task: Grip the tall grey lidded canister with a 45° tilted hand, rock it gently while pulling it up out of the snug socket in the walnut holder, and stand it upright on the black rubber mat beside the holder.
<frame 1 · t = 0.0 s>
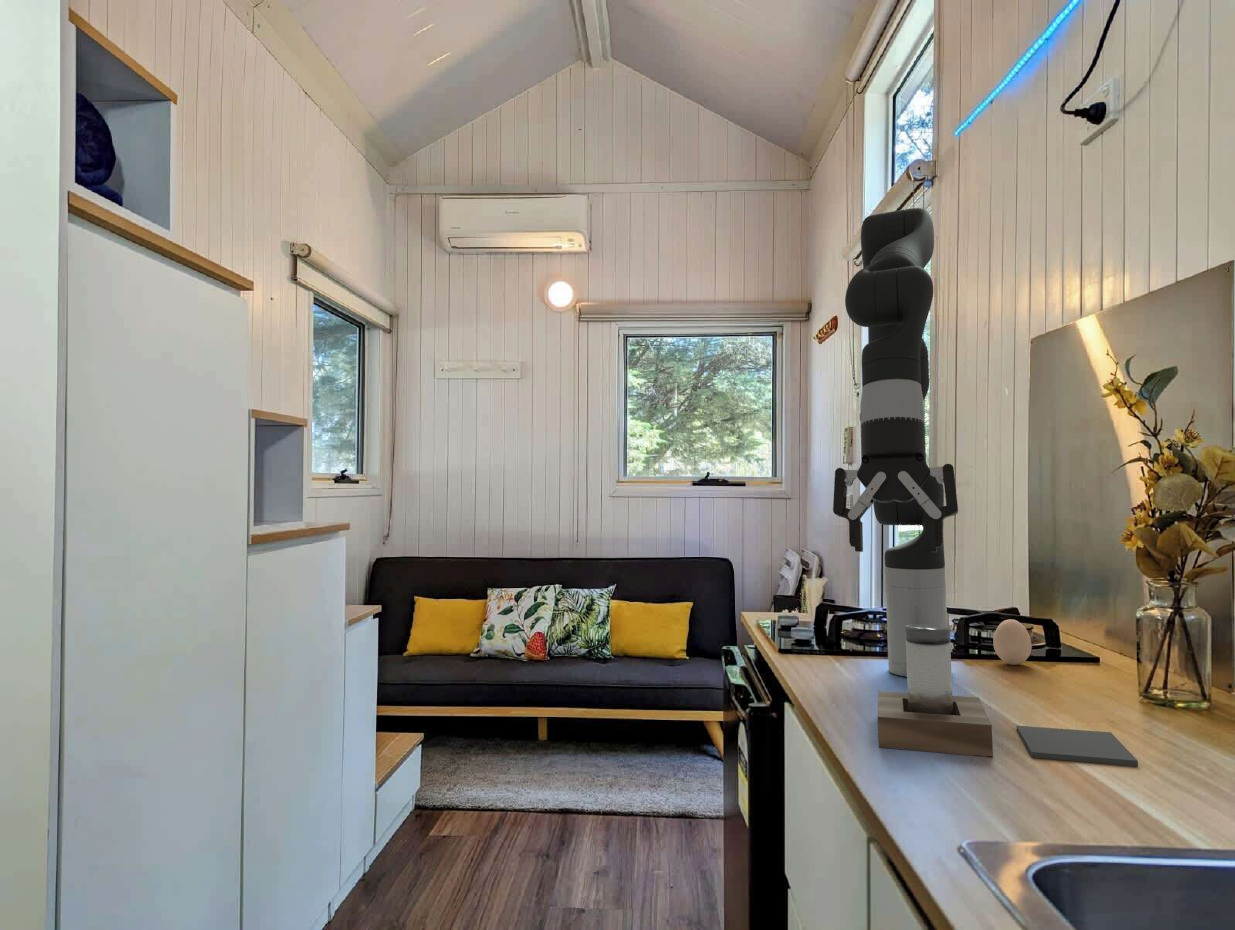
hand: (895, 551, 91), 22 cm above the countertop, tool pointing down, fingers open, 8 cm apart
walnut holder: (931, 735, 91), on the countertop
grey lidded canister: (931, 736, 91), resting in walnut holder
egg: (1013, 665, 127), on the countertop
rubber mat: (1072, 747, 86), on the countertop
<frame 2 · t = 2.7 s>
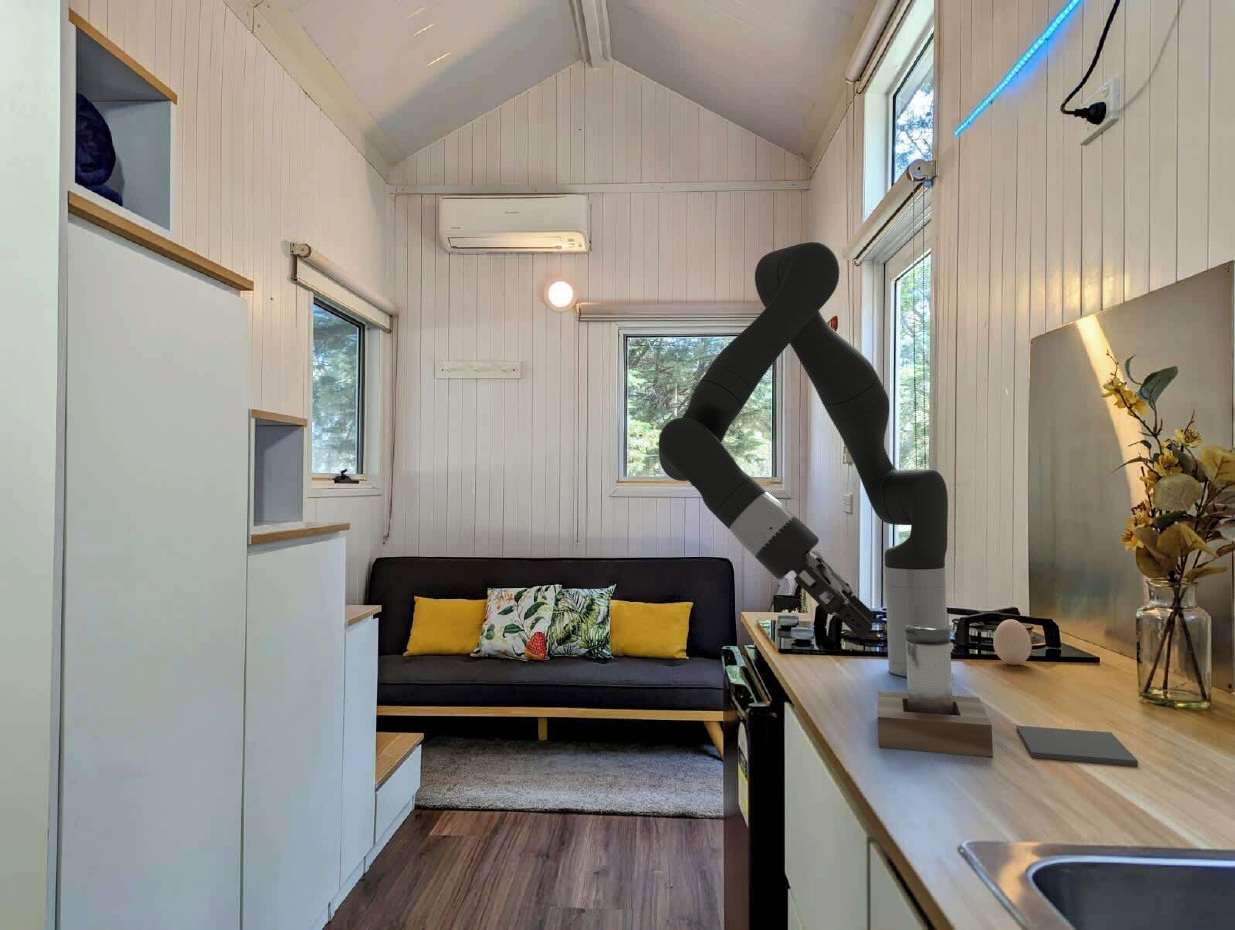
hand: (868, 626, 94), 13 cm above the countertop, tool tilted 45°, fingers open, 8 cm apart
nothing on the countertop moved.
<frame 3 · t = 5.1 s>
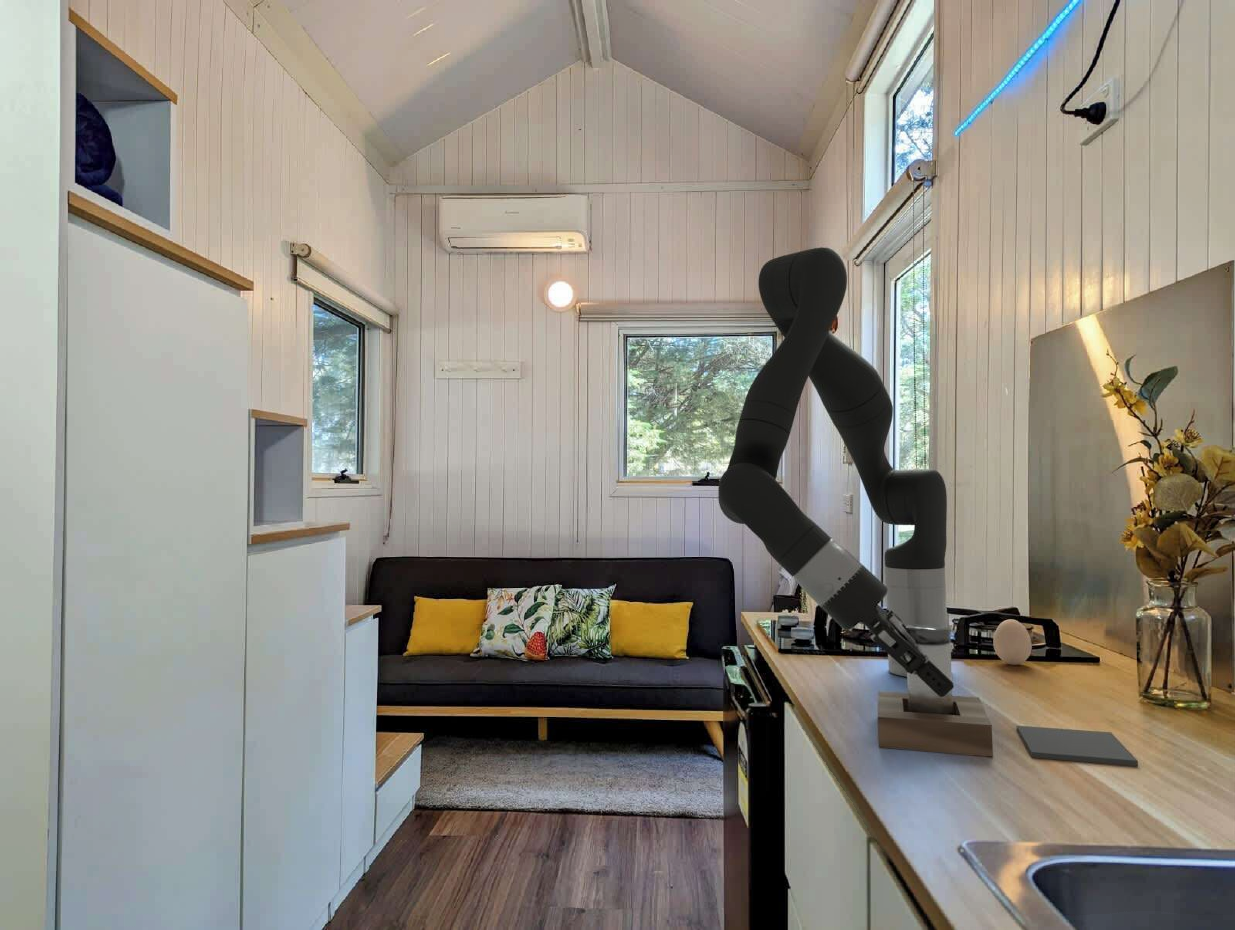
hand: (945, 685, 91), 6 cm above the countertop, tool tilted 45°, fingers closed on grey lidded canister, 5 cm apart
grey lidded canister: (931, 735, 91), resting in walnut holder, touching gripper
everything else where it was.
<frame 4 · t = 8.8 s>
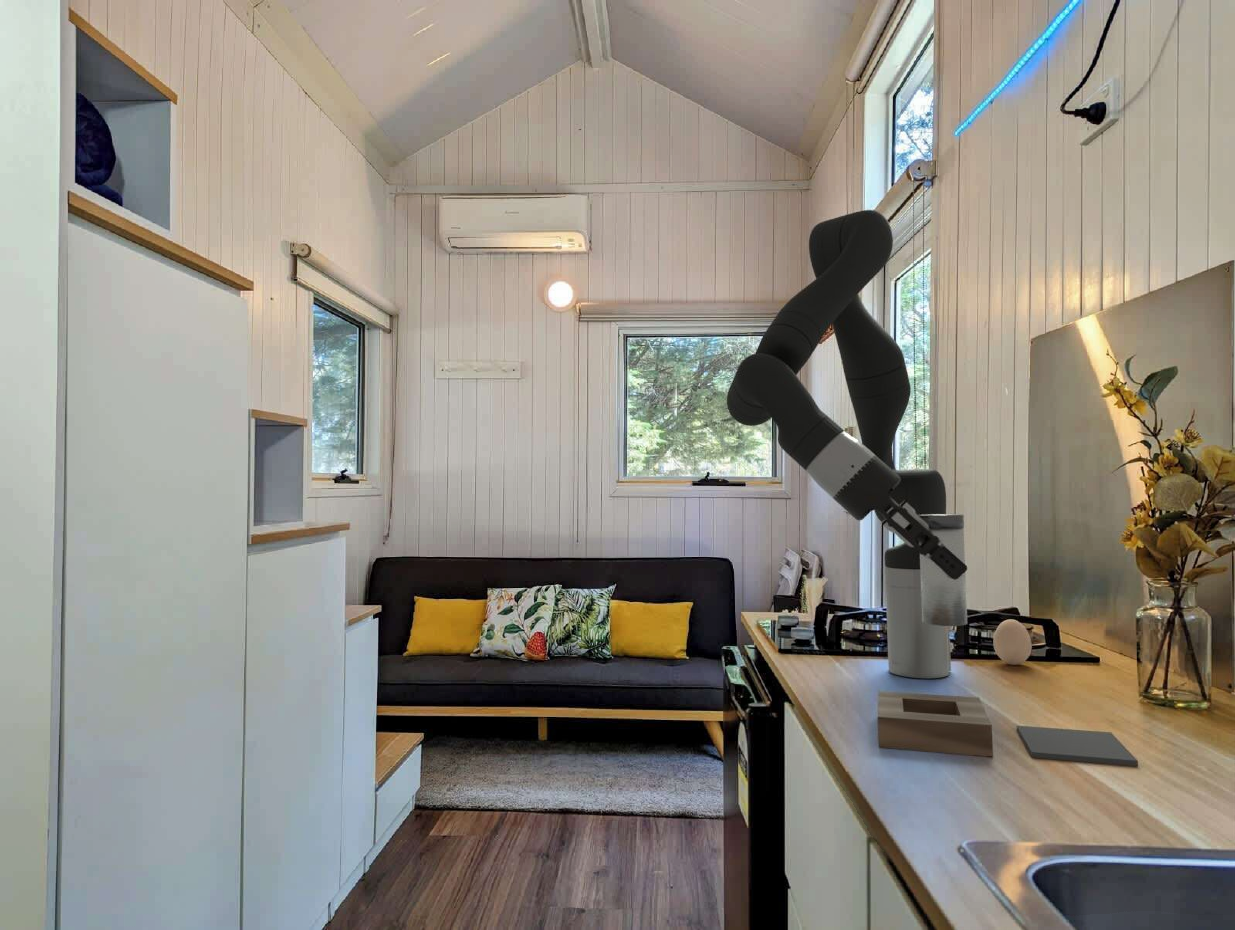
hand: (959, 571, 91), 20 cm above the countertop, tool tilted 45°, fingers closed on grey lidded canister, 5 cm apart
grey lidded canister: (944, 622, 91), point 14 cm above the countertop, touching gripper
everything else where it was.
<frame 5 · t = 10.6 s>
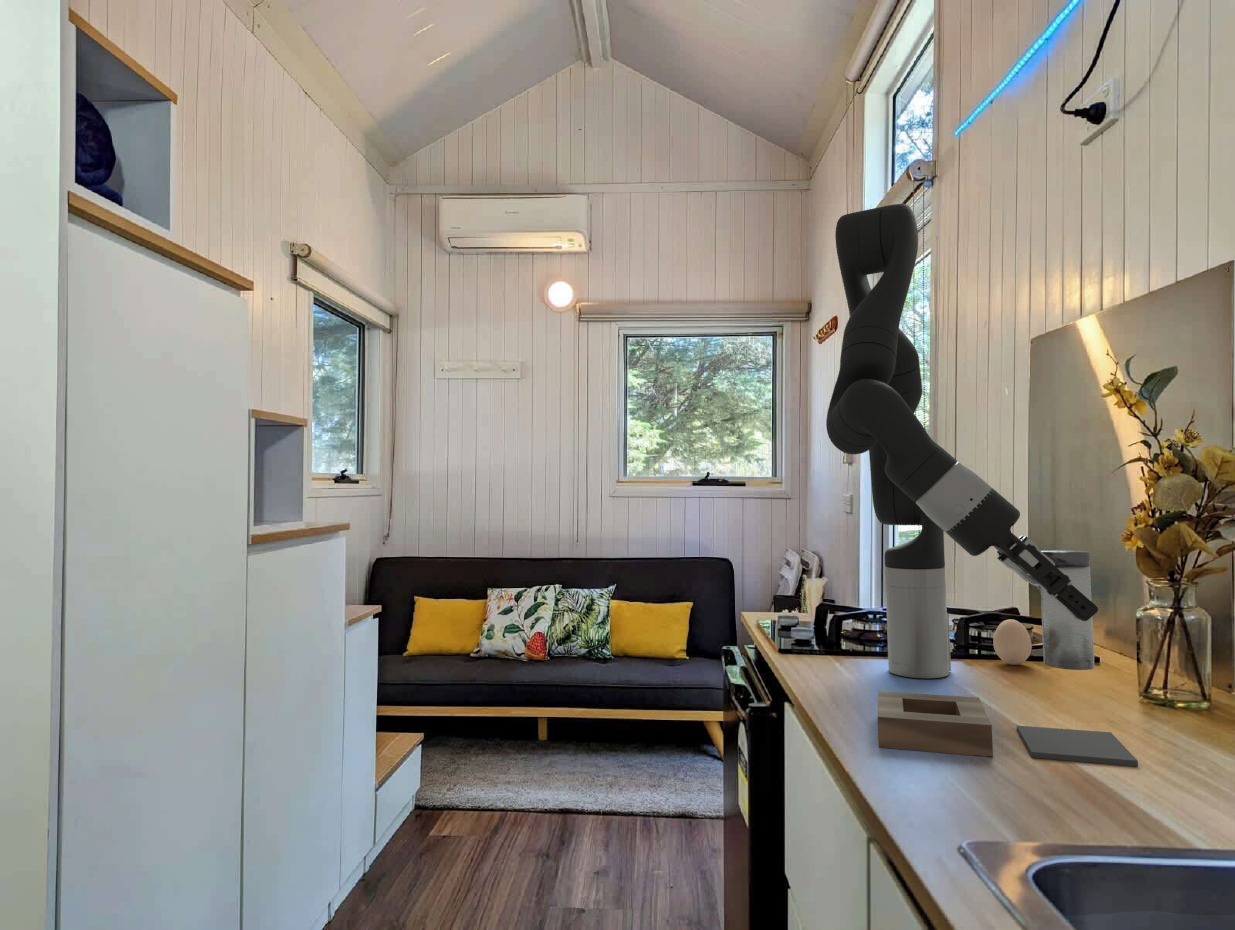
hand: (1084, 611, 86), 15 cm above the countertop, tool tilted 45°, fingers closed on grey lidded canister, 5 cm apart
grey lidded canister: (1068, 665, 86), point 9 cm above the countertop, touching gripper
everything else where it was.
when the fingers open (8 cm above the countertop, at t = 12.3 s): grey lidded canister drops 1 cm, resting on rubber mat.
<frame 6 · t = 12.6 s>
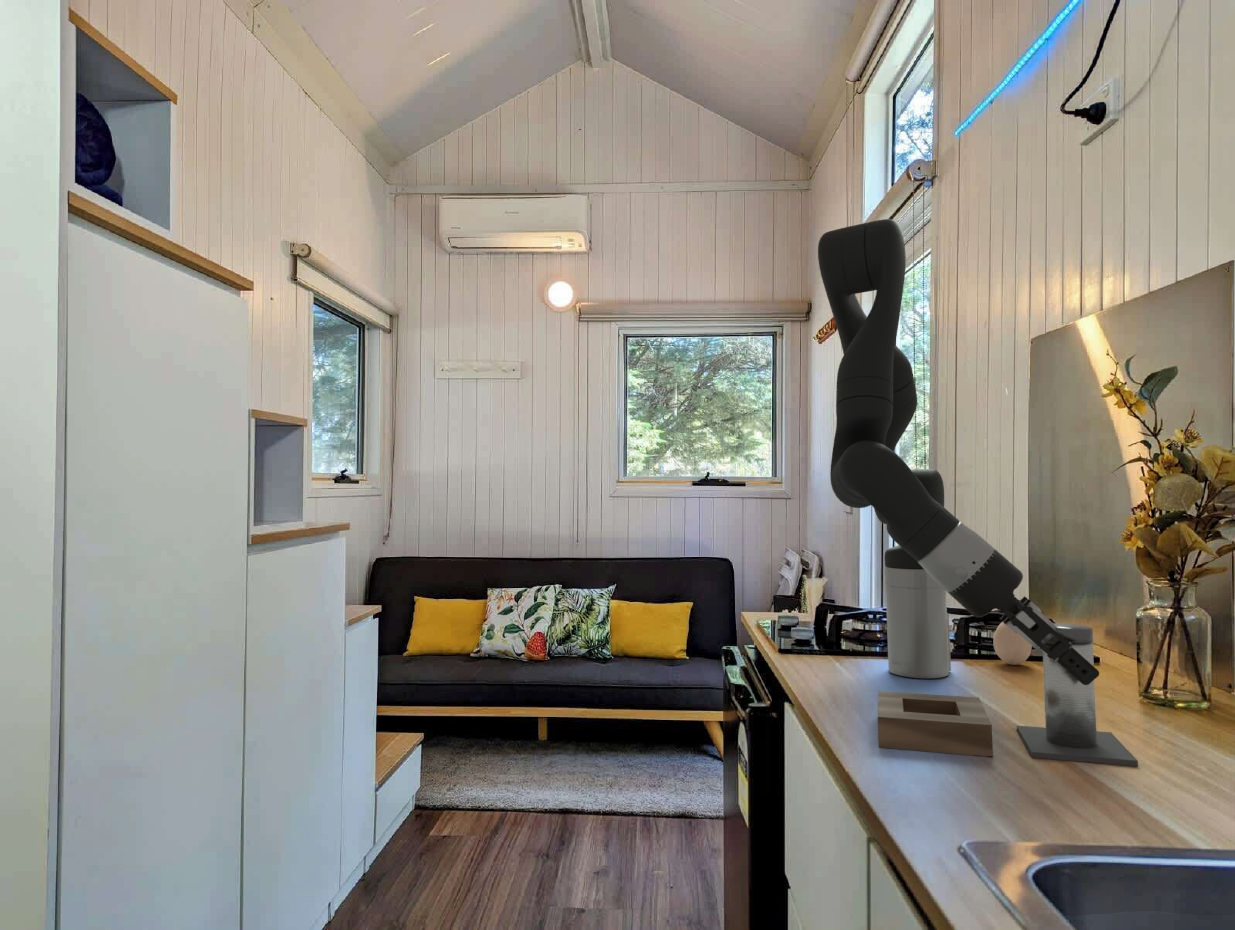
hand: (1083, 671, 86), 9 cm above the countertop, tool tilted 45°, fingers open, 8 cm apart
grey lidded canister: (1071, 741, 86), point 1 cm above the countertop, touching rubber mat
everything else where it was.
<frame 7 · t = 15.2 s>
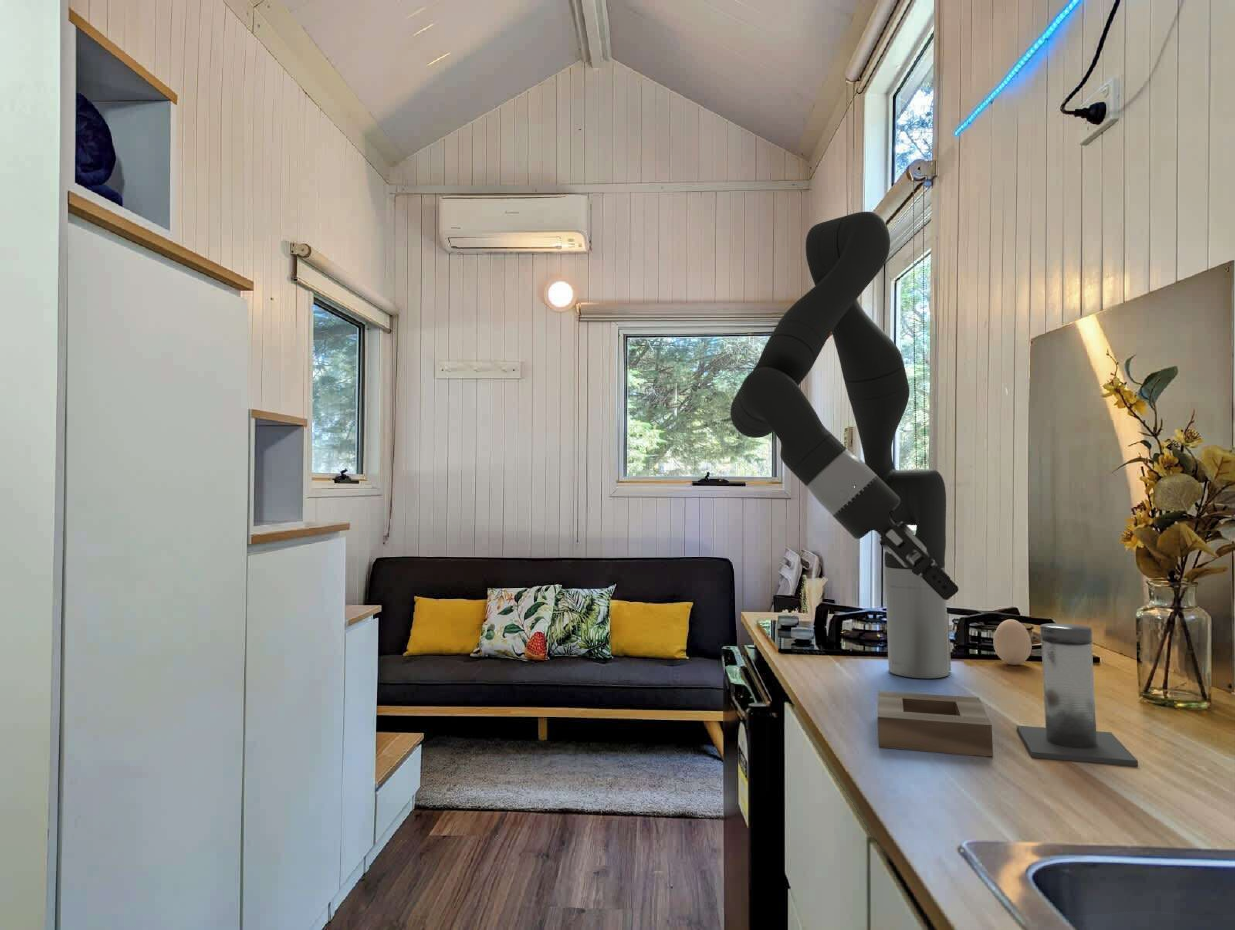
hand: (948, 589, 92), 17 cm above the countertop, tool tilted 40°, fingers open, 8 cm apart
nothing on the countertop moved.
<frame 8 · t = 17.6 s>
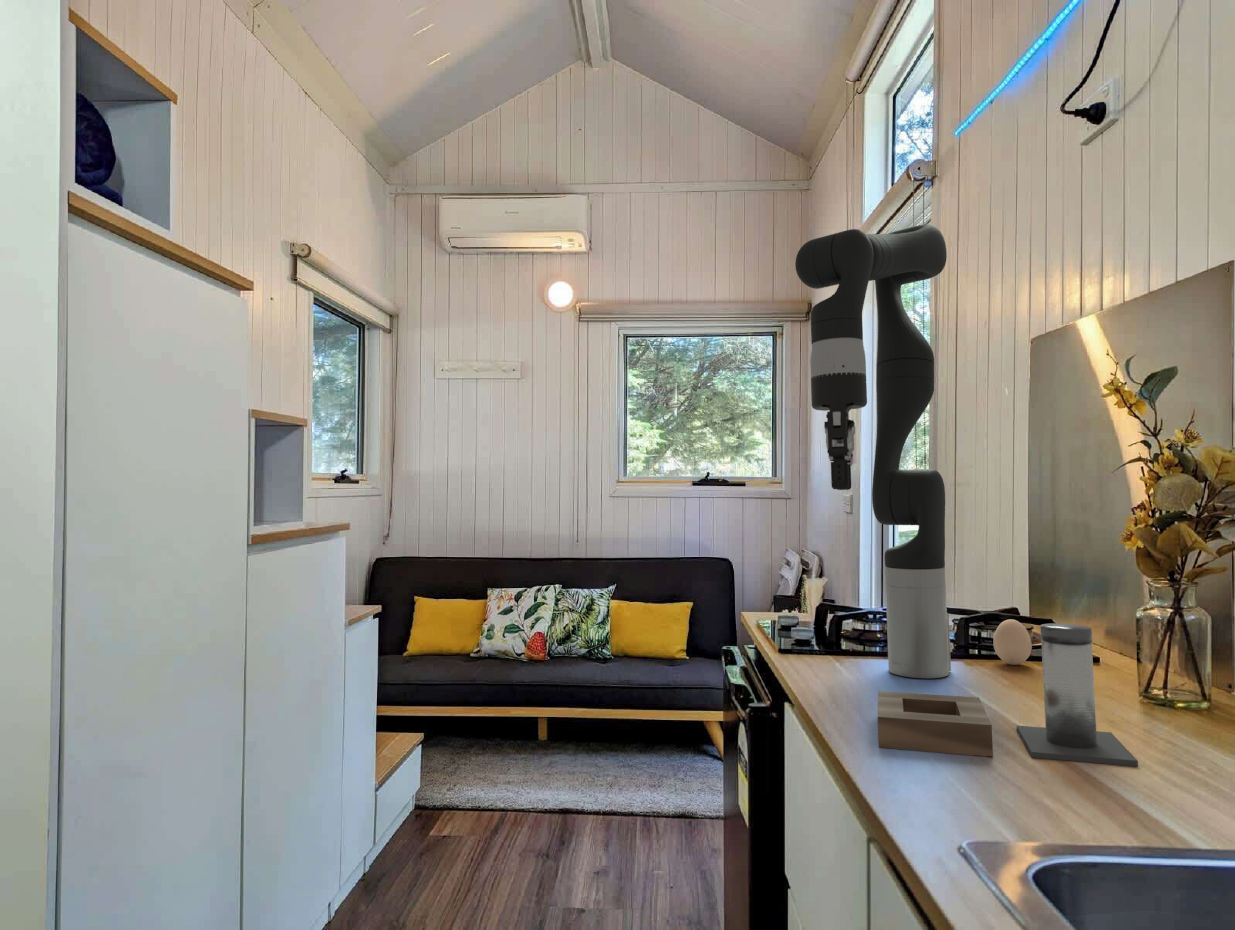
hand: (841, 489, 105), 30 cm above the countertop, tool pointing down, fingers open, 8 cm apart
nothing on the countertop moved.
at the end: grey lidded canister inside the target area on the rubber mat (0.2 cm from its centre), point 0.6 cm above the rubber mat's base; grey lidded canister tilted 0°; the gripper is holding nothing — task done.
